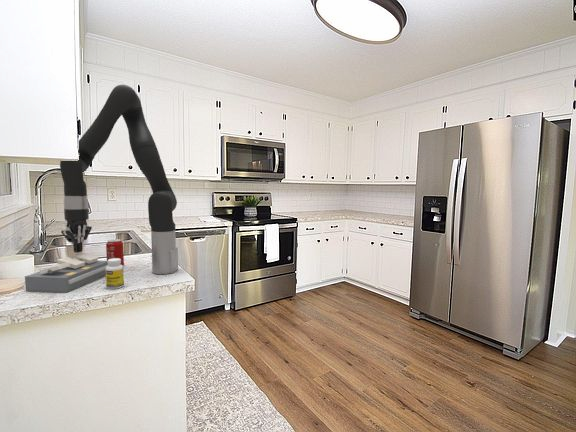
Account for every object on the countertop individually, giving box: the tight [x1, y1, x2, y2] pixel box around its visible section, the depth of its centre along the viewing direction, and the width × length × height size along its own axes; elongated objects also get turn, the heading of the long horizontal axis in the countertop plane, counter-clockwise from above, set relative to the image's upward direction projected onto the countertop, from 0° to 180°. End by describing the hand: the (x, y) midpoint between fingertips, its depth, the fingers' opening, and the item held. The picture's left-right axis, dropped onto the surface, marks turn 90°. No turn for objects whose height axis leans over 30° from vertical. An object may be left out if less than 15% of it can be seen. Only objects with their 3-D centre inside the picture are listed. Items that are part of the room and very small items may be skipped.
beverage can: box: [105, 238, 125, 266], centre depth 126 cm, size 6×6×12 cm
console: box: [24, 260, 109, 294], centre depth 108 cm, size 15×22×5 cm, turn 177°
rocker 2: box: [56, 256, 85, 269], centre depth 107 cm, size 7×4×2 cm, turn 87°
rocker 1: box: [38, 262, 70, 274], centre depth 100 cm, size 7×4×2 cm, turn 87°
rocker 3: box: [71, 252, 99, 264], centre depth 114 cm, size 7×4×2 cm, turn 87°
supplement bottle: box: [105, 258, 125, 290], centre depth 103 cm, size 5×5×10 cm
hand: (78, 252), depth 114 cm, fingers closed
